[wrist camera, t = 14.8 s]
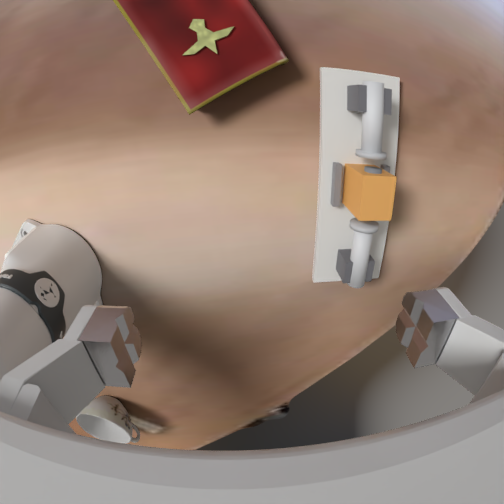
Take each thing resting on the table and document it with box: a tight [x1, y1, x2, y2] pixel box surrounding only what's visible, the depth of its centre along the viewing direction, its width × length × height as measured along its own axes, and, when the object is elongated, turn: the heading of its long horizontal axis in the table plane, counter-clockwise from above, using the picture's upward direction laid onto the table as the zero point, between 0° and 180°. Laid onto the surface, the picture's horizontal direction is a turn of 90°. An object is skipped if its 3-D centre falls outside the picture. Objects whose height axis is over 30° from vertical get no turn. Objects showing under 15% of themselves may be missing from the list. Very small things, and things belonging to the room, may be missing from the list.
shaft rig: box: [312, 67, 400, 288], centre depth 34 cm, size 28×10×6 cm, turn 1°
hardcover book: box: [113, 0, 289, 115], centre depth 25 cm, size 12×21×4 cm, turn 30°
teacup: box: [76, 396, 140, 444], centre depth 53 cm, size 15×12×8 cm
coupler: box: [342, 163, 397, 221], centre depth 33 cm, size 6×4×6 cm
